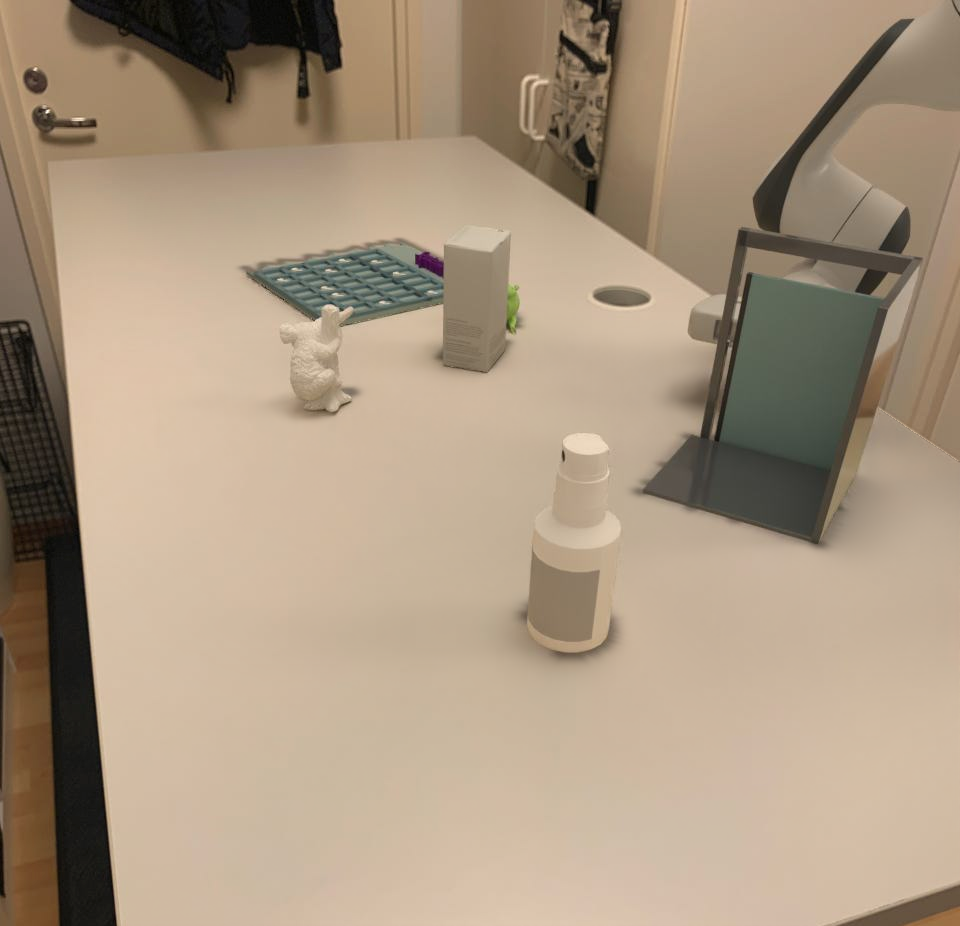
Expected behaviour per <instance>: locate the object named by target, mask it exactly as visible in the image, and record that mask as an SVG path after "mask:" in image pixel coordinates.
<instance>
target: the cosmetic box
mask: <svg viewBox="0 0 960 926" xmlns="http://www.w3.org/2000/svg"><path fill="white" fill-rule="evenodd" d="M511 240H512V231H511V230H509V229H501V228H492V227H485V226H478V225H471V224H465V225H463V227H462V228H460V229H459V230H458V231H457V232H456V233H455V234H454V235H452V236H451V237H450V238H449V239H448V240H446V241H445V242H443V262H444V292H443V303H442V304H443V305H442V309H443V311H442V314H443V315H442V316H443V317H442V365H443V366H444V365H447V366H446V367H450V366H453V367H452V368H456V367H459V368H458V369H462V368H465V369H464V370H468V369H471V370H470V371H474V370H477V371H476V372H480V371H483V372H482V373H489V371H490V369H491V368H492V367H493V366H494V364H495V363H496V362H497V361H498V359H499V358H500V357H501V356H502V354H503V353H504V352H505V350H506V343H507V341H506V338H507V322H506V320H507V300H508V284H509V281H510V280H509V279H510V261H511V244H512V243H511V242H512V241H511Z"/></svg>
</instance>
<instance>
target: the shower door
mask: <svg viewBox="0 0 960 926" xmlns="http://www.w3.org/2000/svg"><path fill="white" fill-rule="evenodd" d="M744 281H745V282H744V285H743V291H742V295H741V297H742V300H741V306H740V311H739V316H738V321H737V326H736V331H735V336H734V341H733V346H732V348H731V353H730V357H729V362H728V367H727V373H726V377H725V382H724V388H723V391H722V397H721V403H720V408H719V411H718V416H717V417H718V418H717V423H716V427H715V428H716V429H715V433H714V439H713V440H714V441H717V442H721V443H725V444H729V445H733V446H736V447H740V448H744V449H748V450H752V451H756V452H759V453H763V454H767V455H771V456H775V457H778V458H782V459H786V460H790V461H794V462H797V463H801V464H805V465H809V466H813V467H816V468H820V469H824V470H828V471H831V468H832V465H833V461H834V458H835V454H836V451H837V447H838V444H839V440H840V437H841V434H842V430H843V427H844V423H845V420H846V416H847V413H848V409H849V406H850V403H851V399H852V396H853V392H854V389H855V385H856V382H857V378H858V375H859V371H860V368H861V365H862V361H863V358H864V354H865V351H866V347H867V344H868V340H869V337H870V334H871V330H872V327H873V323H874V320H875V316H876V313H877V309H878V307H879V306H880V304H881V303H882V301H883V300H884V299H885V297H883V296H877V295H872V294H871V295H867V294H861V293H856V292H851V291H845V290H840V289H835V288H830V287H824V286H819V285H814V284H808V283H803V282H798V281H793V280H787V279H782V277H776V276H773V275H765V274H762V273H761V274H760V273H755V272H751V271H748V272H747V273H746V275H745V280H744Z"/></svg>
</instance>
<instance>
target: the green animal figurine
mask: <svg viewBox="0 0 960 926" xmlns="http://www.w3.org/2000/svg"><path fill="white" fill-rule="evenodd" d="M519 289H520V286H519V285H518V284H515V285H514V286H512V285H511V284H509V283H508V300H507V320H506V324H507V325H508V327H509V329H510V331H511V332H512V334H514V333H516V334H517V329H516V327H515V326H516V325H517V320H518V319H517V316H516V314H517V313H518V311H519V310H520V309H519V308H520V304H521V301H520V297H519V294H518V293H517V291H519Z"/></svg>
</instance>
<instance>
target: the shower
mask: <svg viewBox="0 0 960 926" xmlns="http://www.w3.org/2000/svg"><path fill="white" fill-rule="evenodd" d="M734 246H735V247H734V251H733V257H732V262H731V267H730V272H729V273H730V274H729V278H728V284H727V289H726V293H725V294H726V300H725V305H724V310H723V316H722V321H721V326H720V332H719V337H718V343H717V344H716V349H715V353H714V359H713V364H712V370H711V376H710V379H709V380H710V381H709V385H708V391H707V397H706V402H705V407H704V413H703V419H702V424H701V429H700V434H699V436H698V435H694V434H691V435H690V436H689V437H688V438H687V439H686V440H685V441H684V443H682V444H681V446H680V447H679V448H678V449H677V450H676V452H675V453H674V454H673V455H672V456H671V457H670V458H669V459H668V460H667V462H665V464H664V465H663V466H662V467H661V468H660V469H659V471H658V472H657V473H656V474H655V475H654V476H653V477H652V478H651V480H650V481H648V483H647V484H646V485H645V486H644V488H642V494H645V495H649V496H652V497H656V498H659V499H663V500H666V501H670V502H672V503H673V502H674V503H677V504H680V505H683V506H686V507H690V508H693V509H696V510H700V511H704V512H706V513H707V512H708V513H710V514H714V515H717V516H721V517H724V518H727V519H731V520H735V521H737V522H741V523H745V524H748V525H751V526H755V527H758V528H761V529H765V530H769V531H772V532H776V533H778V534H782V535H786V536H789V537H791V538H796V539H799V540H802V541H806V542H809V543H813V544H816V545H820V542H821V540H822V539H823V537H824V535H825V533H826V532H827V530H828V528H829V526H830V524H831V523H832V520H833V519H834V517H835V515H836V513H837V511H838V510H839V508H840V506H841V504H842V502H843V500H844V498H845V497H846V495H847V493H848V491H849V489H850V487H851V486H852V484H853V482H854V480H855V478H856V476H857V473H858V471H859V468H860V465H861V461H862V457H863V455H864V452H865V448H866V445H867V441H868V439H869V435H870V432H871V429H872V426H873V422H874V419H875V415H876V413H877V409H878V407H879V403H880V399H881V396H882V393H883V390H884V386H885V383H886V381H887V377H888V374H889V370H890V367H891V364H892V361H893V358H894V355H895V351H896V348H897V345H898V342H899V338H900V336H901V332H902V329H903V326H904V323H905V319H906V315H907V313H908V310H909V306H910V303H911V300H912V297H913V293H914V291H915V290H914V289H915V287H916V284H917V280H918V277H919V274H920V270H921V267H922V264H923V261H924V257H920V256H914V255H909V254H903V253H902V254H898V253H892V252H886V251H880V250H874V249H868V248H862V247H857V246H851V245H845V244H839V243H833V242H827V241H822V240H816V239H810V238H804V237H798V236H792V235H787V234H781V233H775V232H769V231H764V230H762V229H758V228H751V227H745V226H741V227H739V228H738V230H737V235H736V240H735V245H734ZM748 248H750V249H756V250H761V251H767V252H773V253H778V254H784V255H789V256H795V257H801V258H811V259H817V260H822V261H828V262H833V263H839V264H844V265H850V266H856V267H861V268H867V269H872V270H878V271H883V272H888V274H889V273H890V274H895V275H900V277H898V279H897V280H896V282H895V283H894V285H893V286H892V287H891V288H890V290H889V291H888V293H887V294H886V296H884V298H885V299H884V300H883V301H882V303H881V304H880V306H879V307H878V309H877V313H876V316H875V320H874V323H873V327H872V330H871V334H870V337H869V340H868V344H867V347H866V351H865V354H864V358H863V361H862V365H861V368H860V371H859V375H858V378H857V382H856V385H855V389H854V392H853V396H852V399H851V403H850V406H849V409H848V413H847V416H846V420H845V423H844V427H843V430H842V434H841V437H840V440H839V444H838V447H837V451H836V454H835V458H834V461H833V465H832V468H831V471H828V470H824V469H820V468H816V467H813V466H809V465H805V464H801V463H797V462H794V461H790V460H786V459H782V458H778V457H775V456H771V455H767V454H763V453H759V452H756V451H752V450H748V449H744V448H740V447H736V446H733V445H729V444H725V443H721V442H717V441H714V439H711V438H712V434H713V429H714V425H715V418H716V412H717V406H718V402H719V397H720V392H721V386H722V382H723V377H724V371H725V366H726V361H727V356H728V350H729V347H728V346H729V341H730V336H731V331H732V326H733V320H734V315H735V310H736V305H737V300H738V296H739V293H740V289H741V283H742V279H743V275H744V274H743V273H744V269H745V265H746V264H745V263H746V259H747V252H748Z"/></svg>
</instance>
